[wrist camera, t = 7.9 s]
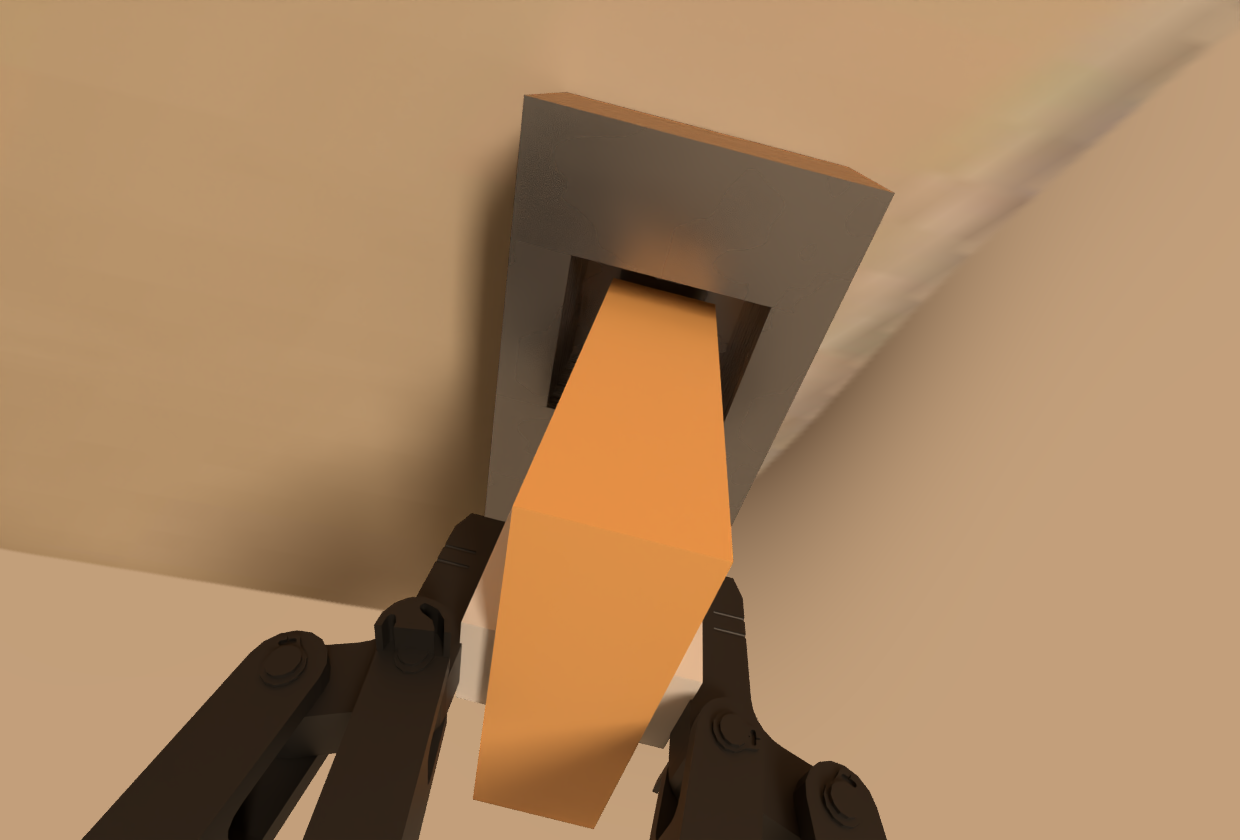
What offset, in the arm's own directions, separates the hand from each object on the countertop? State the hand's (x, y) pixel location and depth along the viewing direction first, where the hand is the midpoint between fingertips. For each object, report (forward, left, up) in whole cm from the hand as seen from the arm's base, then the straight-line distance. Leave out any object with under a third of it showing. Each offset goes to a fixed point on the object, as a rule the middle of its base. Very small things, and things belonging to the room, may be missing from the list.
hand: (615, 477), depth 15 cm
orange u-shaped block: (0, 0, -3) cm, 3 cm away
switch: (0, 0, -5) cm, 5 cm away
